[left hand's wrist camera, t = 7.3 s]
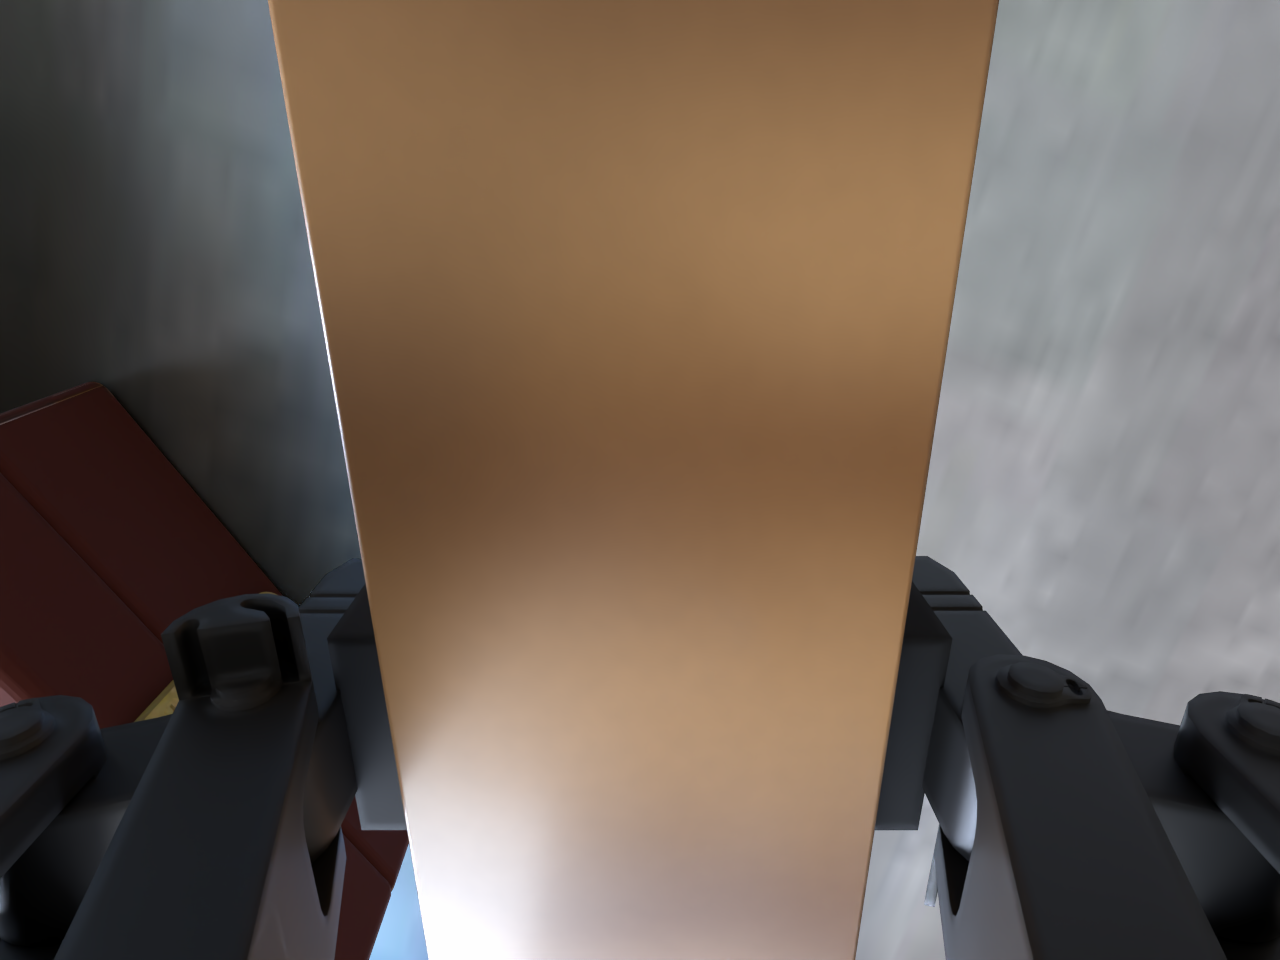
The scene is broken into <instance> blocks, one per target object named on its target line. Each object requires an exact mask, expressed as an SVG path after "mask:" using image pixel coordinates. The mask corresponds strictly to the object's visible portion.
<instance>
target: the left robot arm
mask: <svg viewBox="0 0 1280 960" xmlns="http://www.w3.org/2000/svg"><path fill="white" fill-rule="evenodd" d="M969 592H970V591H969V590H968V589H967V587H966V586H965V585H964V584H963V583H962V581H961V580H960V579H959V578H958V577H957V575H956V574H955V573H954V572H953V571H951V570H949V569H948V568H946V567H944V566H943V565H941V564H939V563H938V562H936V561H934V560H933V559H931V558H929V557H928V556H916V557H915V564H914V570H913V577H912V584H911V590H910V597H909V604H908V610H907V617H906V624H905V630H904V637H903V644H902V650H901V657H900V664H899V670H898V677H897V684H896V690H895V697H894V704H893V710H892V717H891V724H890V730H889V737H888V743H887V750H886V757H885V763H884V770H883V777H882V783H881V790H880V797H879V803H878V810H877V817H876V823H875V830H918V826H919V821H920V815H921V809H922V804H923V798H924V793H925V794H926V796H927V798H928V800H929V803H930V805H931V807H932V809H933V811H934V813H935V815H936V817H937V819H938V822H939V829H938V834H937V839H936V844H935V849H934V855H933V860H932V865H931V870H930V875H929V880H928V885H927V891H926V898H925V904H924V905H928V906H933V907H935V902H936V897H937V892H938V897H939V905H940V913H941V922H942V930H943V939H944V947H945V956H946V960H1280V703H1277V702H1274V701H1271V700H1268V699H1265V700H1264V699H1262V698H1261V697H1257V696H1253V695H1248V694H1237V693H1229V692H1221V691H1220V692H1212V693H1204V694H1199V695H1197V696H1196V697H1195V698H1193V699H1192V700H1191V701H1189V702H1188V704H1187V707H1186V710H1185V713H1184V716H1183V719H1182V722H1181V725H1180V726H1179V725H1174V724H1169V723H1164V722H1159V721H1154V720H1149V719H1144V718H1139V717H1134V716H1129V715H1124V714H1119V713H1115V712H1111V711H1107V710H1106V708H1105V706H1104V704H1103V702H1102V700H1101V699H1100V697H1099V696H1098V695H1097V694H1096V692H1095V691H1094V690H1093V689H1092V687H1091V686H1090V685H1089V684H1088V683H1086V682H1085V681H1083V680H1082V679H1080V678H1079V677H1077V676H1076V675H1075V674H1073V673H1072V672H1070V671H1068V670H1066V669H1064V668H1061V667H1059V666H1057V665H1054V664H1052V663H1050V662H1047V661H1044V660H1040V659H1035V658H1031V657H1027V656H1023V655H1022V654H1021V653H1020V652H1019V650H1018V649H1017V648H1016V647H1015V646H1014V644H1013V643H1012V642H1011V641H1010V640H1009V638H1008V637H1007V636H1006V635H1005V633H1004V632H1003V631H1002V630H1001V629H1000V627H999V626H998V625H997V624H996V623H995V621H994V620H993V619H992V618H991V617H990V615H989V614H988V613H987V612H986V611H983V610H982V606H981V604H980V603H979V602H978V601H977V600H976V598H975V597H974V596H973V595H970V593H969ZM161 637H162V641H163V644H164V648H165V652H166V655H167V659H168V663H169V666H170V670H171V673H172V677H173V681H174V684H175V688H176V691H177V695H178V699H179V702H178V704H177V706H176V708H175V710H174V712H173V714H169V715H166V716H162V717H158V718H153V719H148V720H142V721H137V722H132V723H127V724H122V725H117V726H112V727H107V728H102V729H100V728H99V725H98V722H97V719H96V716H95V713H94V710H93V707H92V705H90V704H89V703H88V702H86V701H85V700H84V699H82V698H81V697H73V696H65V695H56V696H47V697H39V698H30V699H26V700H21V701H19V703H15V702H14V703H11V704H8V705H5V706H2V707H0V960H334V958H335V949H336V941H337V932H338V924H339V915H340V907H341V898H342V890H343V882H344V873H345V865H346V852H345V845H344V839H343V834H342V829H341V824H342V822H343V820H344V818H345V816H346V813H347V811H348V809H349V807H350V805H351V803H352V801H353V799H354V796H355V797H356V802H357V808H358V813H359V819H360V824H361V830H407V827H406V821H405V815H404V809H403V803H402V797H401V791H400V785H399V779H398V773H397V767H396V761H395V755H394V749H393V743H392V737H391V731H390V725H389V719H388V713H387V707H386V701H385V695H384V689H383V683H382V678H381V672H380V666H379V660H378V654H377V648H376V642H375V636H374V630H373V624H372V618H371V612H370V606H369V600H368V594H367V588H366V582H365V576H364V570H363V564H362V559H351V560H349V561H348V562H346V563H344V564H343V565H341V566H339V567H338V568H336V569H334V570H333V571H331V572H329V573H328V574H326V575H325V576H324V577H323V579H322V580H321V581H320V582H319V584H318V585H317V586H316V587H315V588H314V590H313V591H312V592H311V593H310V597H307V598H306V599H305V601H304V602H303V603H302V604H301V606H300V607H299V608H298V605H297V604H296V603H294V602H293V601H292V600H290V599H289V598H288V597H284V596H279V595H274V594H269V593H267V594H244V595H239V596H234V597H229V598H224V599H219V600H217V601H214V602H211V603H208V604H206V605H203V606H200V607H198V608H195V609H193V610H191V611H190V612H188V613H186V614H184V615H183V616H181V617H179V618H178V619H176V620H174V621H173V622H172V623H171V624H170V625H169V626H168V627H167V628H166V629H165V630H164V631H163V632H162V634H161Z"/></svg>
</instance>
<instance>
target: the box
mask: <svg viewBox="0 0 1280 960" xmlns="http://www.w3.org/2000/svg"><path fill="white" fill-rule="evenodd" d="M267 593H269V594H274V595H279V596H283V595H282V594H281V593H280V592H279V590H278V589H277V588H276V587H275V586H274V584H273V583H272V582H271V581H270V580H269V579H268V577H267V576H266V575H265V574H264V573H263V572H262V570H261V569H260V568H259V567H258V566H257V564H256V563H255V562H254V561H253V560H252V559H251V557H250V556H249V555H248V554H247V553H246V551H245V550H244V549H243V548H242V547H241V546H240V544H239V543H238V542H237V541H236V540H235V539H234V537H233V536H232V535H231V534H230V533H229V531H228V530H227V529H226V528H225V527H224V526H223V524H222V523H221V522H220V521H219V520H218V518H217V517H216V516H215V515H214V514H213V513H212V511H211V510H210V509H209V508H208V507H207V506H206V504H205V503H204V502H203V501H202V500H201V498H200V497H199V496H198V495H197V494H196V493H195V491H194V490H193V489H192V488H191V487H190V486H189V484H188V483H187V482H186V481H185V480H184V478H183V477H182V476H181V475H180V474H179V473H178V471H177V470H176V469H175V468H174V467H173V465H172V464H171V463H170V462H169V461H168V460H167V458H166V457H165V456H164V455H163V454H162V453H161V451H160V450H159V449H158V448H157V447H156V445H155V444H154V443H153V442H152V441H151V440H150V438H149V437H148V436H147V435H146V434H145V432H144V431H143V430H142V429H141V428H140V427H139V425H138V424H137V423H136V422H135V421H134V420H133V418H132V417H131V416H130V415H129V414H128V412H127V411H126V410H125V409H124V408H123V407H122V405H121V404H120V403H119V402H118V401H117V400H116V398H115V397H114V396H113V395H112V394H111V392H110V391H109V390H108V389H107V388H106V387H105V386H103V385H102V384H100V383H97V382H87V383H84V384H81V385H78V386H75V387H73V388H70V389H67V390H64V391H62V392H59V393H56V394H53V395H51V396H48V397H45V398H42V399H40V400H37V401H34V402H31V403H29V404H26V405H23V406H20V407H18V408H15V409H12V410H9V411H7V412H4V413H1V414H0V707H2V706H5V705H8V704H11V703H14V702H15V703H19V701H21V700H26V699H30V698H39V697H47V696H56V695H65V696H73V697H81V698H82V699H84V700H85V701H86V702H88V703H89V704H90V705H92V707H93V710H94V713H95V716H96V719H97V722H98V725H99V728H100V729H102V728H107V727H112V726H117V725H122V724H127V723H132V722H137V721H142V720H148V719H153V718H158V717H162V716H166V715H169V714H173V712H174V710H175V708H176V706H177V704H178V702H179V699H178V695H177V691H176V688H175V684H174V681H173V677H172V673H171V670H170V666H169V663H168V659H167V655H166V652H165V648H164V644H163V641H162V637H161V634H162V632H163V631H164V630H165V629H166V628H167V627H168V626H169V625H170V624H171V623H172V622H173V621H174V620H176V619H178V618H179V617H181V616H183V615H184V614H186V613H188V612H190V611H191V610H193V609H195V608H198V607H200V606H203V605H206V604H208V603H211V602H214V601H217V600H219V599H224V598H229V597H234V596H239V595H244V594H267ZM341 829H342V834H343V839H344V845H345V852H346V865H345V873H344V882H343V890H342V898H341V907H340V915H339V924H338V932H337V941H336V949H335V958H334V960H369V958H370V955H371V952H372V949H373V946H374V943H375V940H376V937H377V934H378V932H379V929H380V926H381V923H382V920H383V917H384V914H385V911H386V908H387V905H388V902H389V899H390V897H391V891H392V890H393V888H394V885H395V882H396V879H397V876H398V873H399V870H400V867H401V865H402V862H403V859H404V856H405V853H406V850H407V847H408V844H409V838H408V832H407V830H361V824H360V819H359V813H358V808H357V802H356V797H355V796H354V799H353V801H352V803H351V805H350V807H349V809H348V811H347V813H346V816H345V818H344V820H343V822H342V824H341Z"/></svg>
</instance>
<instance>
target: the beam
mask: <svg viewBox="0 0 1280 960" xmlns="http://www.w3.org/2000/svg"><path fill="white" fill-rule="evenodd" d="M268 4H269V10H270V16H271V22H272V28H273V34H274V40H275V46H276V52H277V58H278V64H279V70H280V76H281V82H282V88H283V94H284V99H285V105H286V111H287V117H288V123H289V129H290V135H291V141H292V147H293V153H294V159H295V165H296V171H297V177H298V183H299V189H300V195H301V201H302V207H303V213H304V219H305V225H306V231H307V237H308V242H309V248H310V254H311V260H312V266H313V272H314V278H315V284H316V290H317V296H318V302H319V308H320V314H321V320H322V326H323V332H324V338H325V344H326V350H327V356H328V362H329V368H330V374H331V380H332V386H333V391H334V397H335V403H336V409H337V415H338V421H339V427H340V433H341V439H342V445H343V451H344V457H345V463H346V469H347V475H348V481H349V487H350V493H351V499H352V505H353V511H354V517H355V523H356V529H357V534H358V540H359V546H360V552H361V558H362V564H363V570H364V576H365V582H366V588H367V594H368V600H369V606H370V612H371V618H372V624H373V630H374V636H375V642H376V648H377V654H378V660H379V666H380V672H381V678H382V683H383V689H384V695H385V701H386V707H387V713H388V719H389V725H390V731H391V737H392V743H393V749H394V755H395V761H396V767H397V773H398V779H399V785H400V791H401V797H402V803H403V809H404V815H405V821H406V827H407V832H408V838H409V844H410V850H411V856H412V862H413V868H414V874H415V880H416V886H417V892H418V898H419V904H420V910H421V916H422V922H423V928H424V934H425V940H426V946H427V952H428V958H429V960H855V957H856V950H857V943H858V937H859V930H860V923H861V917H862V910H863V903H864V897H865V890H866V883H867V877H868V870H869V863H870V857H871V850H872V843H873V837H874V830H875V823H876V817H877V810H878V803H879V797H880V790H881V783H882V777H883V770H884V763H885V757H886V750H887V743H888V737H889V730H890V724H891V717H892V710H893V704H894V697H895V690H896V684H897V677H898V670H899V664H900V657H901V650H902V644H903V637H904V630H905V624H906V617H907V610H908V604H909V597H910V590H911V584H912V577H913V570H914V564H915V557H916V550H917V544H918V537H919V530H920V524H921V517H922V510H923V504H924V497H925V490H926V484H927V477H928V470H929V464H930V457H931V450H932V444H933V437H934V430H935V424H936V417H937V410H938V404H939V397H940V390H941V384H942V377H943V370H944V364H945V357H946V350H947V344H948V337H949V330H950V324H951V317H952V310H953V304H954V297H955V290H956V284H957V277H958V270H959V264H960V257H961V250H962V244H963V237H964V230H965V224H966V217H967V210H968V204H969V197H970V190H971V184H972V177H973V170H974V164H975V157H976V150H977V144H978V137H979V130H980V124H981V117H982V110H983V104H984V97H985V90H986V84H987V77H988V70H989V64H990V57H991V50H992V44H993V37H994V30H995V24H996V17H997V10H998V4H999V0H268Z"/></svg>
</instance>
